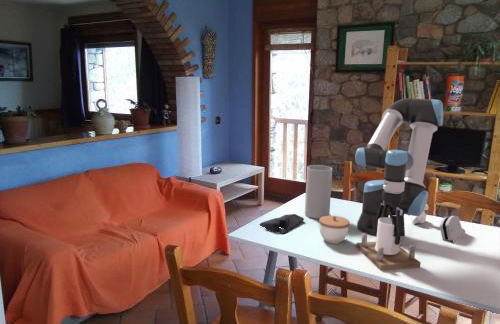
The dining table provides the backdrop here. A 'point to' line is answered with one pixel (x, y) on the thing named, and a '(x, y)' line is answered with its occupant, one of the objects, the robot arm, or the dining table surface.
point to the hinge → (451, 228)
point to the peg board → (388, 256)
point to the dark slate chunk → (282, 223)
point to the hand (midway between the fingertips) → (387, 245)
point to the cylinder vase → (318, 191)
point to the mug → (385, 235)
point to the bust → (419, 217)
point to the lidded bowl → (333, 228)
